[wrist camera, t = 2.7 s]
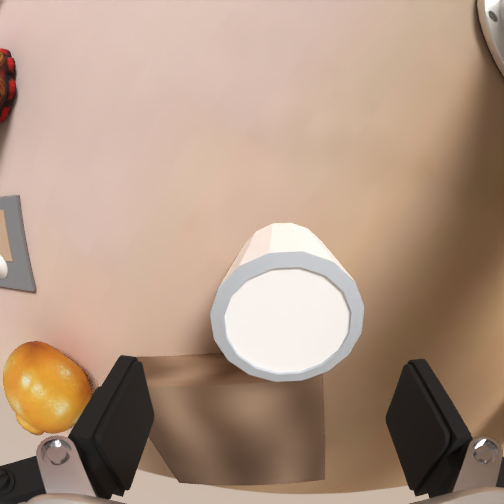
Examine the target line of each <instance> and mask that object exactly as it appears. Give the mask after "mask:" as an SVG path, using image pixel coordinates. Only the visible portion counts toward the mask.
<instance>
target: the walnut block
mask: <svg viewBox="0 0 504 504" xmlns="http://www.w3.org/2000/svg"><path fill="white" fill-rule="evenodd" d="M137 359H138V361H140V362H142V364H143V368H144V373H145V377H146V382H147V386H148V390H149V394H150V398H151V402H152V406H153V410H154V422H153V425H152V427H151V430H150V433H149V437H150V439H151V440H152V442H153V444H154V445H155V447H156V448H157V450H158V452H159V453H160V455H161V456H162V458H163V459H164V461H165V462H166V464H167V465H168V467H169V468H170V470H171V471H172V473H173V474H174V476H175V477H176V479H177V480H178V482H180V483H190V484H207V485H268V484H285V483H297V482H307V481H316V480H324V479H325V435H324V400H323V377H322V374H319V375H316V376H314V377H311V378H308V379H305V380H302V381H282V382H274V381H271V380H267V379H263V378H259V377H256V376H252V375H249V374H247V373H246V372H245V371H243V370H242V369H240V368H239V367H237V366H236V365H234V364H233V363H231V362H230V361H228V360H227V358H226V357H225V355H224V354H223V353H219V354H204V355H185V356H158V357H137Z"/></svg>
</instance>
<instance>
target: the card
mask: <svg viewBox="0 0 504 504" xmlns="http://www.w3.org/2000/svg"><path fill="white" fill-rule="evenodd" d="M0 287H6V288H13V289H20V290H27V291H35V290H36V286H35V282H34V278H33V273H32V269H31V264H30V260H29V255H28V250H27V244H26V239H25V233H24V227H23V220H22V213H21V205H20V197H19V195H14V196H5V197H0Z"/></svg>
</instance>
